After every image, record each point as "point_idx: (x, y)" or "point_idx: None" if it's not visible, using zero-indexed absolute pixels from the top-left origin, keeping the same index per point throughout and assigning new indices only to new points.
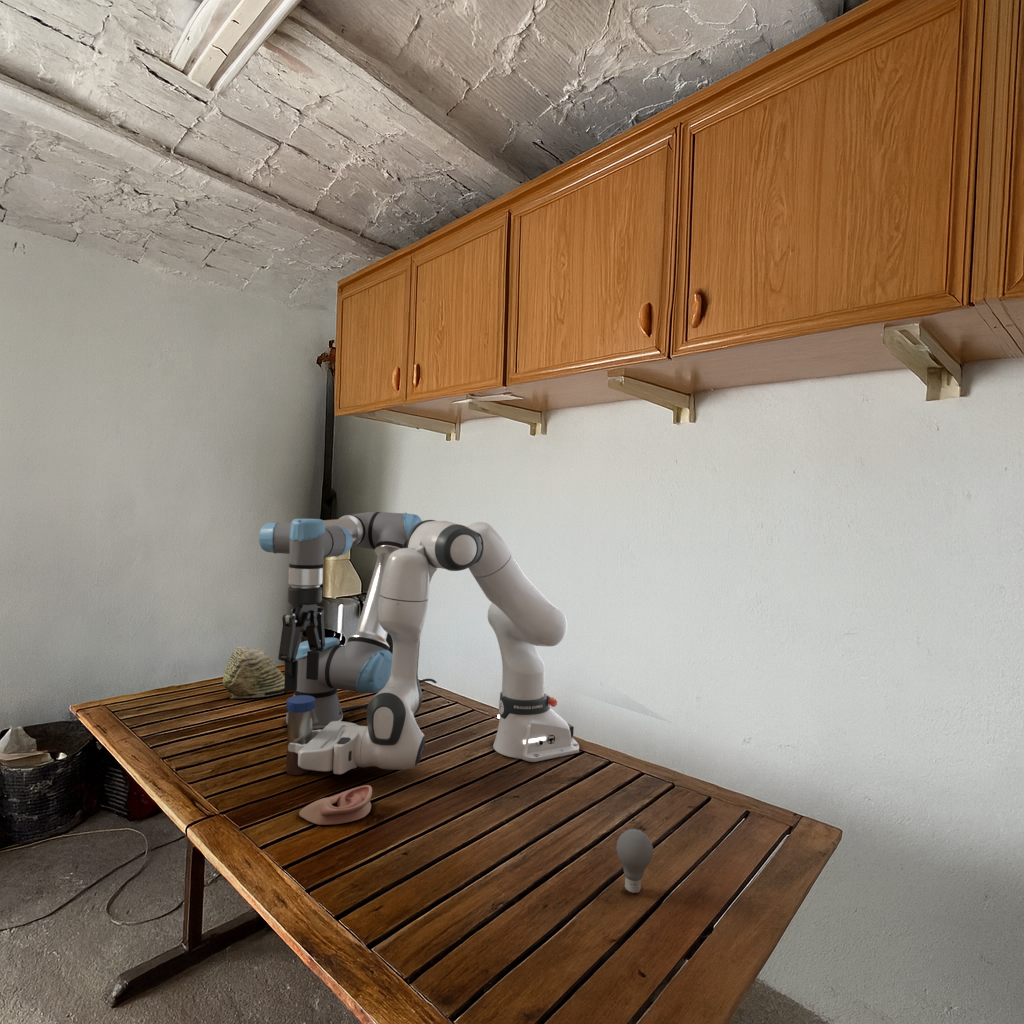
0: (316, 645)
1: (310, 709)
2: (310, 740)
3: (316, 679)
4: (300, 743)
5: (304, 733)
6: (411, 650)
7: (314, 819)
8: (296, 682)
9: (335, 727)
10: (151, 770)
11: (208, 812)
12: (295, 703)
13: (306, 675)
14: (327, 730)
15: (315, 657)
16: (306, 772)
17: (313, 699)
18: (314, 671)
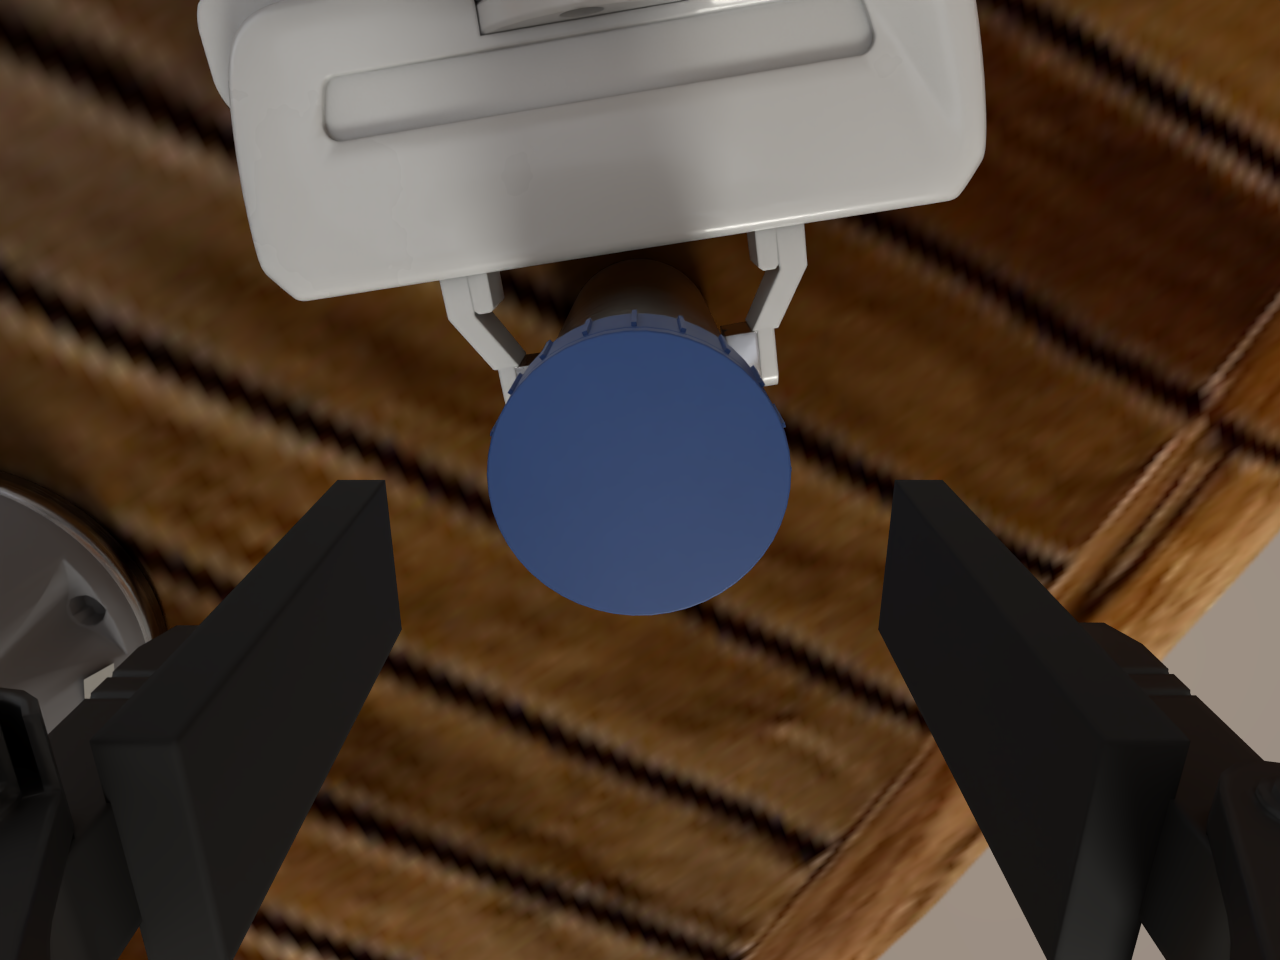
0: (40, 939)
1: (681, 317)
2: (634, 284)
3: (379, 483)
4: (713, 322)
5: (698, 315)
6: None
7: None
8: (950, 522)
9: (406, 181)
10: (855, 926)
11: (1198, 468)
12: (789, 460)
13: (386, 653)
14: (499, 209)
15: (240, 706)
16: (662, 262)
17: (591, 353)
18: (347, 570)
